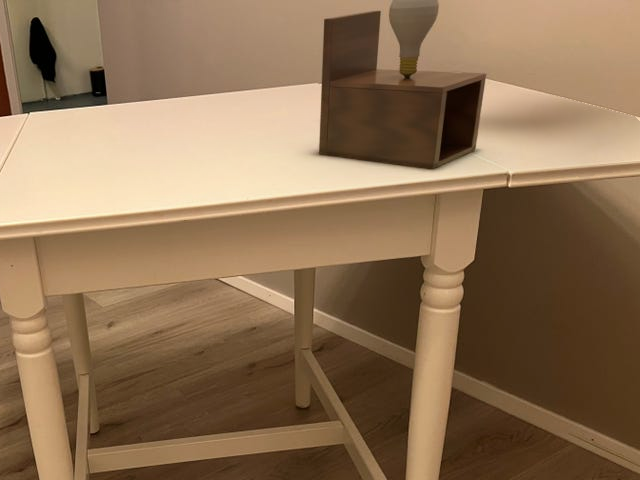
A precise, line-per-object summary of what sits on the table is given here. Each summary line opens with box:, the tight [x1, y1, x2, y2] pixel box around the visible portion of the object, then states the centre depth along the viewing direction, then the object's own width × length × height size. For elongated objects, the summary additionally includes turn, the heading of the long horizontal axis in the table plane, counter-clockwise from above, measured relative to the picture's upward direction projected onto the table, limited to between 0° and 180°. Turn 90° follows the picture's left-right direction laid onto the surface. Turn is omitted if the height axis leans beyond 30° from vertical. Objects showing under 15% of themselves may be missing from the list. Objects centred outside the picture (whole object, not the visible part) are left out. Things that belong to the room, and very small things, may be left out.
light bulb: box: [388, 0, 440, 77], centre depth 83 cm, size 6×6×10 cm
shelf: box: [318, 10, 487, 170], centre depth 87 cm, size 16×11×16 cm
